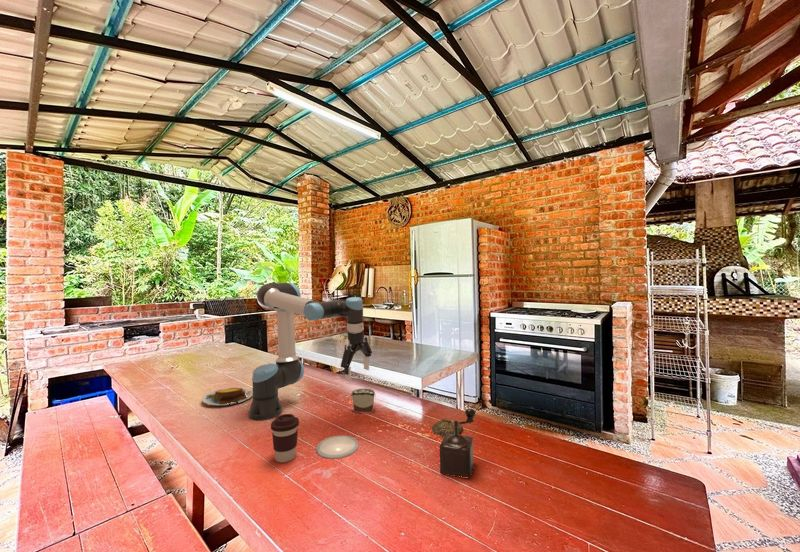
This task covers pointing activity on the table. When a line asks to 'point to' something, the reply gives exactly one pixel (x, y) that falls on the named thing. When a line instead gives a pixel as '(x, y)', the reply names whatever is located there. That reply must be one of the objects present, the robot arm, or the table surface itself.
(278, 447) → the coffee cup
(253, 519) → the table surface
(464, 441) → the manual coffee grinder
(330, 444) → the saucer
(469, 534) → the table surface
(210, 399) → the food on plate
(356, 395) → the food container
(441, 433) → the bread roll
